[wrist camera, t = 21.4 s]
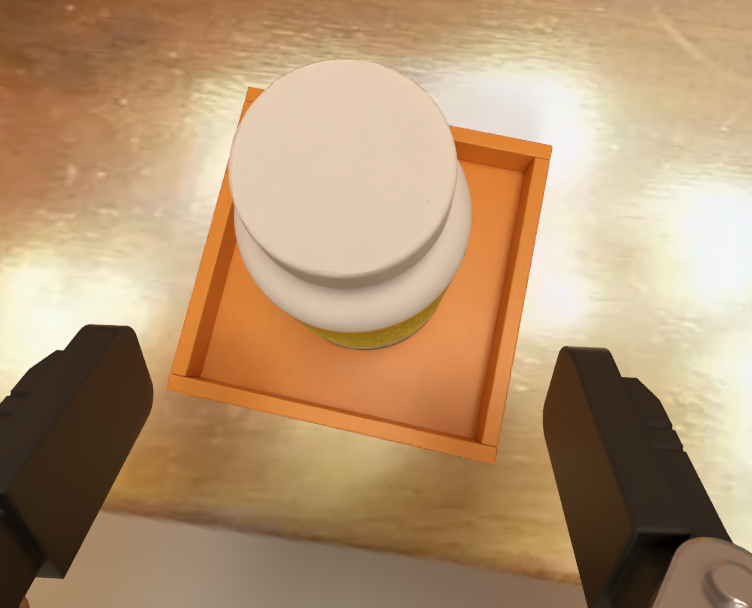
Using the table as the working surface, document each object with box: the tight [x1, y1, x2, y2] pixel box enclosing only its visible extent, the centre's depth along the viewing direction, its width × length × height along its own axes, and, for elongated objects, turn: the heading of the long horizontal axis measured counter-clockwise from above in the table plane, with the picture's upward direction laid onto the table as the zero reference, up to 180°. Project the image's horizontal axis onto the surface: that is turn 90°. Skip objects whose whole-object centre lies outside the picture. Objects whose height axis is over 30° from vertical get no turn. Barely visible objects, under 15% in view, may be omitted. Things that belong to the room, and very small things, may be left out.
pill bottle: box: [228, 59, 472, 351], centre depth 16 cm, size 6×6×11 cm
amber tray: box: [166, 87, 552, 464], centre depth 21 cm, size 12×12×2 cm
